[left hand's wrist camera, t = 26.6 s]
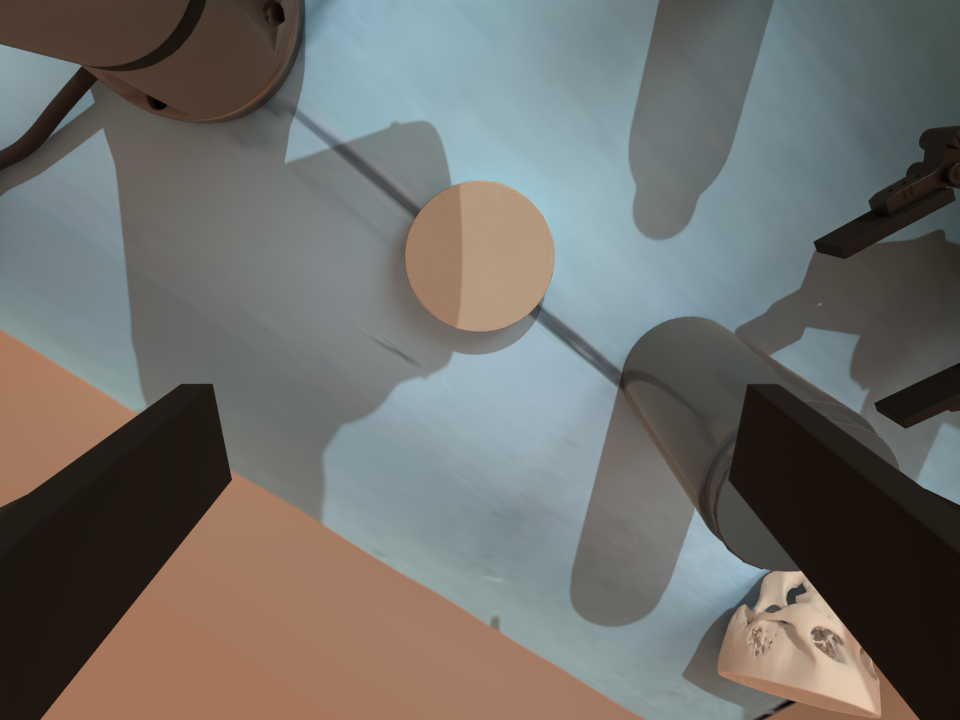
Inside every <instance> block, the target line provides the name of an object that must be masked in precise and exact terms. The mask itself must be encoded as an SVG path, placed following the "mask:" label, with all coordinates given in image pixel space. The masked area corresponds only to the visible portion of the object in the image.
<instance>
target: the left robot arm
mask: <svg viewBox="0 0 960 720" xmlns="http://www.w3.org/2000/svg"><path fill="white" fill-rule="evenodd" d="M303 24H304V0H0V44H2V45H6V46H10V47H13V48H17V49H21V50H25V51H29V52H33V53H37V54H41V55H45V56H49V57H53V58H57V59H61V60H65V61H68V62H72V63H76V64H80V65H81V66H82V67H81V68H80V69H79V70H78V71H77V72H76V73H75V75H74V76H73V77H72V78H71V79H70V80H69V82H68V83H67V84H66V85H65V86H64V87H63V88H62V90H61V91H60V92H59V93H58V94H57V95H56V97H55V98H54V99H53V100H52V101H51V103H50V104H49V105H48V106H47V108H46V109H45V110H44V111H43V113H42V114H41V115H40V117H39V118H38V119H37V121H36V122H35V123H34V124H33V126H32V127H31V128H30V129H29V130H28V131H27V132H26V133H25V134H24V135H23V136H22V137H21V138H20V139H19V140H18V141H16V142H15V143H14V144H12V145H11V146H9V147H7V148H5V149H3V150H1V151H0V170H2V169H4V168H6V167H8V166H10V165H12V164H14V163H17V162H19V161H21V160H22V159H24V158H26V157H27V156H29V155H30V154H32V153H33V152H34V151H35V150H36V149H37V148H39V147H40V146H41V145H42V144H43V142H44V141H45V140H46V139H47V138H48V137H49V136H50V135H51V133H52V132H53V131H54V130H55V128H56V127H57V126H58V125H59V123H60V122H61V121H62V119H63V118H64V117H65V116H66V115H67V113H68V112H69V111H70V110H71V109H72V108H73V107H74V105H75V104H76V103H77V102H78V101H79V100H80V99H81V98H82V96H83V95H84V94H85V93H86V92H87V91H88V90H89V89H90V87H91V86H92V85H93V84H94V83H95V82H96V81H97V80H98V79H99V80H100V81H102V82H103V83H104V84H105V85H107V86H108V87H109V88H110V89H112V90H113V91H114V92H116V93H117V94H118V95H120V96H121V97H123V98H124V99H126V100H127V101H129V102H131V103H132V104H134V105H136V106H138V107H140V108H142V109H144V110H146V111H149V112H151V113H154V114H157V115H160V116H163V117H167V118H171V119H176V120H182V121H188V122H196V123H218V122H225V121H230V120H233V119H236V118H239V117H242V116H244V115H246V114H249V113H251V112H252V111H254V110H256V109H257V108H259V107H260V106H262V105H263V104H264V103H265V102H267V101H268V100H269V99H270V98H271V97H272V96H273V95H274V94H275V93H276V92H277V90H278V89H279V88H280V87H281V85H282V84H283V82H284V81H285V79H286V78H287V76H288V75H289V73H290V71H291V69H292V67H293V64H294V62H295V59H296V57H297V54H298V50H299V47H300V43H301V38H302V32H303ZM231 480H232V478H231V473H230V468H229V463H228V458H227V453H226V448H225V443H224V438H223V433H222V428H221V423H220V418H219V413H218V408H217V403H216V398H215V393H214V388H213V384H181V385H179V386H178V387H176V388H175V389H174V390H172V391H171V392H170V393H168V394H167V395H165V396H164V397H163V398H161V399H160V400H158V401H157V402H156V403H154V404H153V405H151V406H150V407H149V408H147V409H146V410H144V411H143V412H142V413H140V414H139V415H138V416H136V417H135V418H133V419H132V420H131V421H129V422H128V423H126V424H125V425H124V426H122V427H121V428H119V429H118V430H117V431H115V432H114V433H112V434H111V435H110V436H108V437H107V438H106V439H104V440H103V441H101V442H100V443H99V444H97V445H96V446H94V447H93V448H92V449H90V450H89V451H87V452H86V453H85V454H83V455H82V456H80V457H79V458H78V459H76V460H75V461H74V462H72V463H71V464H69V465H68V466H67V467H65V468H64V469H62V470H61V471H60V472H58V473H57V474H56V475H54V476H53V477H51V478H50V479H49V480H47V481H46V482H44V483H43V484H42V485H40V486H39V487H37V488H36V489H35V490H33V491H32V492H30V493H29V494H27V495H25V496H23V497H21V498H19V499H17V500H15V501H13V502H11V503H9V504H7V505H5V506H2V507H0V720H40V719H41V718H42V717H43V716H44V714H45V713H46V712H47V711H48V709H49V708H50V707H51V705H52V704H53V703H54V702H55V701H56V699H57V698H58V697H59V696H60V694H61V693H62V692H63V691H64V689H65V688H66V687H67V685H68V684H69V683H70V682H71V680H72V679H73V678H74V677H75V675H76V674H77V673H78V672H79V670H80V669H81V668H82V667H83V666H84V664H85V663H86V662H87V660H88V659H89V658H90V657H91V656H92V654H93V653H94V652H95V651H96V649H97V648H98V647H99V645H100V644H101V643H102V642H103V640H104V639H105V638H106V637H107V635H108V634H109V633H110V632H111V630H112V629H113V628H114V627H115V625H116V624H117V623H118V622H119V620H120V619H121V618H122V617H123V615H124V614H125V613H126V612H127V610H128V609H129V608H130V607H131V605H132V604H133V603H134V602H135V600H136V599H137V598H138V597H139V595H140V594H141V593H142V592H143V590H144V589H145V588H146V587H147V585H148V584H149V583H150V582H151V580H152V579H153V578H154V577H155V575H156V574H157V573H158V572H159V570H160V569H161V568H162V567H163V565H164V564H165V563H166V562H167V560H168V559H169V558H170V557H171V555H172V554H173V553H174V552H175V550H176V549H177V548H178V547H179V545H180V544H181V543H182V542H183V540H184V539H185V538H186V537H187V535H188V534H189V533H190V532H191V530H192V529H193V528H194V527H195V525H196V524H197V523H198V521H199V520H200V519H201V518H202V517H203V515H204V514H205V513H206V512H207V510H208V509H209V508H210V507H211V505H212V504H213V503H214V502H215V500H216V499H217V498H218V497H219V495H220V494H221V493H222V491H223V490H224V489H225V488H226V487H227V485H228V484H229V483H230V482H231ZM728 480H729V482H730V483H731V484H732V485H733V487H734V488H735V489H736V490H737V492H738V493H739V494H740V495H741V497H742V498H743V499H744V500H745V502H746V503H747V504H748V505H749V507H750V508H751V509H752V510H753V512H754V513H755V514H756V515H757V517H758V518H759V519H760V520H761V522H762V523H763V524H764V525H765V527H766V528H767V529H768V530H769V532H770V533H771V534H772V535H773V537H774V538H775V539H776V540H777V542H778V543H779V544H780V545H781V547H782V548H783V549H784V550H785V552H786V553H787V554H788V555H789V557H790V558H791V559H792V560H793V562H794V563H795V564H796V565H797V567H798V568H799V569H800V570H801V572H802V573H803V574H804V575H805V577H806V578H807V579H808V580H809V582H810V583H811V584H812V585H813V587H814V588H815V589H816V590H817V592H818V593H819V594H820V595H821V597H822V598H823V599H824V600H825V602H826V603H827V604H828V605H829V607H830V608H831V609H832V610H833V612H834V613H835V614H836V615H837V617H838V618H839V619H840V620H841V622H842V623H843V624H844V625H845V627H846V628H847V629H848V630H849V632H850V633H851V634H852V635H853V637H854V638H855V639H856V640H857V642H858V643H859V644H860V645H861V647H862V648H863V649H864V651H865V652H866V653H867V654H868V656H869V657H870V658H871V659H872V661H873V662H874V663H875V664H876V666H877V667H878V668H879V669H880V670H881V672H882V673H883V674H884V676H885V677H886V678H887V679H888V681H889V682H890V683H891V684H892V686H893V687H894V688H895V689H896V691H897V692H898V693H899V694H900V696H901V697H902V698H903V699H904V701H905V702H906V703H907V704H908V706H909V707H910V708H911V709H912V711H913V712H914V713H915V714H916V716H917V717H918V718H919V719H920V720H960V505H958V504H956V503H954V502H952V501H950V500H948V499H946V498H944V497H942V496H939V495H937V494H935V493H933V492H931V491H929V490H927V489H924V488H923V487H921V486H920V485H918V484H917V483H916V482H914V481H913V480H912V479H910V478H909V477H907V476H906V475H905V474H903V473H902V472H900V471H899V470H898V469H896V468H895V467H893V466H892V465H891V464H889V463H888V462H886V461H885V460H884V459H882V458H881V457H880V456H878V455H877V454H875V453H874V452H873V451H871V450H870V449H868V448H867V447H866V446H864V445H863V444H861V443H860V442H859V441H857V440H856V439H854V438H853V437H852V436H850V435H849V434H848V433H846V432H845V431H843V430H842V429H841V428H839V427H838V426H836V425H835V424H834V423H832V422H831V421H829V420H828V419H827V418H825V417H824V416H822V415H821V414H820V413H818V412H817V411H816V410H814V409H813V408H811V407H810V406H809V405H807V404H806V403H804V402H803V401H802V400H800V399H799V398H797V397H796V396H795V395H793V394H792V393H790V392H789V391H788V390H786V389H785V388H784V387H782V386H781V385H779V384H747V388H746V393H745V398H744V403H743V408H742V413H741V418H740V423H739V428H738V433H737V438H736V443H735V448H734V453H733V458H732V463H731V468H730V473H729V478H728Z"/></svg>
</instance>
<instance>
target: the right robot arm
mask: <svg viewBox="0 0 960 720" xmlns="http://www.w3.org/2000/svg"><path fill="white" fill-rule="evenodd" d="M919 145H920V147H921V148H922V149H923V150H925V154H924V161H923V162H916V163H914V164H912V165H911V166H910V167H909V168H908V170H907V173H906V176H907V177H905V178H903V179H901V180H899V181H897V182H896V183H894V184H893V185H890V186H888V187H887V188H885V189H883V190H881V191H879V192H878V193H876V194H875V195H874V196H873V197H872V198H871V199H870V200H869V204H870V207H871V211H869V212H867V213H866V214H864V215H862V216H860V217H858V218H856V219H855V220H853V221H851V222H849V223H847V224H845V225H844V226H842V227H840V228H838V229H836V230H834V231H833V232H831V233H829V234H827V235H825V236H823V237H822V238H820V239H818V240H816V241H814V244H815V247H816V250H817V252H820V253H824V254H828V255H832V256H835V257H839V258H843V259H846V258H848V257H850V256H851V255H853V254H855V253H857V252H859V251H861V250H863V249H865V248H866V247H868V246H870V245H872V244H874V243H876V242H878V241H880V240H881V239H883V238H885V237H887V236H889V235H891V234H893V233H895V232H896V231H898V230H900V229H902V228H904V227H906V226H908V225H910V224H911V223H913V222H915V221H917V220H919V219H921V218H923V217H925V216H926V215H928V214H930V213H932V212H934V211H936V210H938V209H940V208H941V207H943V206H945V205H947V204H949V203H951V202H953V201H955V200H956V199H955V195H954V192H953V188H957V189H960V126H952V127H941V128H931V129H928V130H926V131H925V132H924V133H923V134H922V135H921V137H920V140H919ZM945 187H951V188H945ZM874 404H875V406H876V409H877V411H878V412H880V413H881V414H883V415H884V416H886V417H888V418H889V419H891V420H893V421H894V422H896V423H897V424H899V425H901V426H902V427H904V428H905V429H906V428H909V427H911V426H913V425H915V424H917V423H920V422H922V421H924V420H926V419H928V418H930V417H933V416H935V415H937V414H939V413H941V412H944V411H946V410H949V411H951V412H954V411H960V363H958V364H956V365H954V366H952V367H950V368H947V369H945V370H943V371H941V372H939V373H937V374H935V375H933V376H930V377H928V378H926V379H924V380H922V381H920V382H918V383H916V384H914V385H911V386H909V387H907V388H905V389H903V390H901V391H899V392H897V393H895V394H892V395H890V396H888V397H886V398H884V399H882V400H880V401H878V402H876V403H874Z"/></svg>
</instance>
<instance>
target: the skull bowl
mask: <svg viewBox="0 0 960 720" xmlns="http://www.w3.org/2000/svg"><path fill="white" fill-rule="evenodd" d="M801 584H803V586H804V587H805V589H806V591H807V593H804V594H800V595H798V596H796V603H795V604H792V605H789V606H788V605H787V601H786V596H787V593H788V591H789V590H790V589H792V588H798V586H799V585H801ZM771 605H777V606H778V607H779V608H781V610H779V611H776V612H774V613H767V612H766V610H767V608H768V607H769V606H771ZM780 620H783V621H786V622H787V624H784V623H783V622H781V621H780ZM814 627H817V628H815V630H814V631H812V630H813V628H814ZM833 640H835V642H837V644H836V645H835V644H834V641H833ZM718 674H719V675H721V676H723V677H725V678H727V679H729V680H732V681H734V682H737V683H740V684H742V685H745V686H748V687H750V688H753V689H756V690H759V691H762V692H765V693H769V694H772V695H775V696H778V697H782V698H785V699H789V700H793V701H796V702H800V703H803V704H807V705H811V706H815V707H819V708H823V709H827V710H832V711H837V712H842V713H847V714H853V715H859V716H864V717H870V718H880V717H881V700H880V689H879V685H880V682H879V678H878V676H877V674H876V673H875V671H874V668H873V664H872V659H871V658H870V657H869V656H868V654H867V653H866V652H865V651H864V649H863V648H862V647H861V645H860V644H859V643H858V642H857V640H856V639H855V638H854V637H853V635H852V634H851V633H850V632H849V630H848V629H847V628H846V627H845V625H844V624H843V623H842V622H841V620H840V619H839V618H838V617H837V615H836V614H835V613H834V612H833V610H832V609H831V608H830V607H829V605H828V604H827V603H826V602H825V600H824V599H823V598H822V597H821V595H820V594H819V593H818V592H817V590H816V589H815V588H814V587H813V585H812V584H811V583H810V582H809V580H808V579H807V578H806V577H805V575H804V574H803V573H802V572H801V571H797V572H781V571H773V572H771V573H769V574H768V575H767V576H765V577H764V579H763V582H762V585H761V591H760V597H759V600H758V602H757V604H756V606H755V608H754V612H753V611H751V610H750V609H749V608H748V606H747V605H742V606H740V607H739V608H738V609H737V611H736V612H735V613H734V615H733V616H732V618H731V620H730V623H729V625H728V628H727V631H726V634H725V637H724V640H723V643H722V646H721V650H720V654H719V659H718Z"/></svg>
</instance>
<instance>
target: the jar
mask: <svg viewBox="0 0 960 720" xmlns="http://www.w3.org/2000/svg"><path fill="white" fill-rule="evenodd" d="M622 381H623V389H624V394H625V396H626V399H627V401H628V403H629V404H630V406H631V408H632V409H633V411H634V412H635V414H636V416H637V417H638V419H639V420H640V422H641V423H642V425H643V427H644V428H645V430H646V431H647V433H648V434H649V436H650V438H651V439H652V441H653V442H654V444H655V445H656V447H657V449H658V450H659V452H660V453H661V455H662V456H663V458H664V460H665V461H666V463H667V464H668V466H669V467H670V469H671V471H672V472H673V474H674V475H675V477H676V478H677V480H678V482H679V483H680V485H681V486H682V488H683V489H684V491H685V493H686V494H687V496H688V497H689V499H690V501H691V502H692V504H693V505H694V507H695V508H696V510H697V512H698V513H699V515H700V516H701V518H702V519H703V521H704V523H705V524H706V526H707V527H708V528H709V530H710V531H711V532H712V533H713V534H714V535H715V536H716V537H717V538H718V539H719V540H721V541H722V542H723V543H724V545H725V546H726V548H727V549H728V550H729V551H730V552H731V553H733V554H734V555H735V556H737V557H738V558H739V559H740V560H742V561H743V562H744V563H747V564H749V565H752V566H755V567H757V568H760V569H768V570H773V571H781V572H797V571H801V570H800V569H799V568H798V567H797V565H796V564H795V563H794V562H793V560H792V559H791V558H790V557H789V555H788V554H787V553H786V552H785V550H784V549H783V548H782V547H781V545H780V544H779V543H778V542H777V540H776V539H775V538H774V537H773V535H772V534H771V533H770V532H769V530H768V529H767V528H766V527H765V525H764V524H763V523H762V522H761V520H760V519H759V518H758V517H757V515H756V514H755V513H754V512H753V510H752V509H751V508H750V507H749V505H748V504H747V503H746V502H745V500H744V499H743V498H742V497H741V495H740V494H739V493H738V492H737V490H736V489H735V488H734V487H733V485H732V484H731V483H730V482H729V480H728V478H729V473H730V468H731V463H732V458H733V453H734V448H735V443H736V438H737V433H738V428H739V423H740V418H741V413H742V408H743V403H744V398H745V393H746V388H747V384H779V385H781V386H782V387H784V388H785V389H786V390H788V391H789V392H790V393H792V394H793V395H795V396H796V397H797V398H799V399H800V400H802V401H803V402H804V403H806V404H807V405H809V406H810V407H811V408H813V409H814V410H816V411H817V412H818V413H820V414H821V415H822V416H824V417H825V418H827V419H828V420H829V421H831V422H832V423H834V424H835V425H836V426H838V427H839V428H841V429H842V430H843V431H845V432H846V433H848V434H849V435H850V436H852V437H853V438H854V439H856V440H857V441H859V442H860V443H861V444H863V445H864V446H866V447H867V448H868V449H870V450H871V451H873V452H874V453H875V454H877V455H878V456H880V457H881V458H882V459H884V460H885V461H886V462H888V463H889V464H891V465H892V466H893V467H895V468H896V469H898V470H899V465H898V463H897V460H896V457H895V455H894V454H893V452H892V450H891V449H890V447H889V446H888V445H887V444H886V443H885V442H884V440H882V439H881V438H880V437H879V436H878V435H877V433H876V432H875V430H874V428H873V427H872V426H871V425H870V424H869V423H868V421H867V420H866V419H864V418H863V417H862V416H861V415H859V414H858V413H856V412H855V411H853V410H852V409H850V408H849V407H847V406H846V405H844V404H843V403H841V402H839V401H838V400H836V399H835V398H833V397H832V396H830V395H829V394H827V393H826V392H824V391H822V390H821V389H819V388H818V387H816V386H815V385H813V384H812V383H810V382H808V381H807V380H805V379H804V378H802V377H801V376H799V375H798V374H796V373H795V372H793V371H791V370H790V369H788V368H787V367H785V366H784V365H782V364H781V363H779V362H778V361H776V360H774V359H773V358H771V357H770V356H768V355H767V354H765V353H764V352H762V351H761V350H759V349H757V348H756V347H754V346H753V345H751V344H750V343H748V342H747V341H745V340H743V339H742V338H740V337H739V336H737V335H736V334H734V333H733V332H731V331H730V330H728V329H726V328H725V327H723V326H722V325H720V324H718V323H716V322H714V321H712V320H709V319H705V318H700V317H682V318H676V319H672V320H669V321H666V322H664V323H661V324H659V325H658V326H656V327H654V328H653V329H651V330H650V331H648V332H647V333H646V334H645V335H643V336H642V337H641V338H640V339H639V341H638V342H637V343H636V344H635V345H634V347H633V348H632V350H631V351H630V353H629V355H628V357H627V360H626V362H625V365H624V370H623V378H622ZM899 471H900V470H899ZM728 546H729V547H728Z"/></svg>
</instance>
